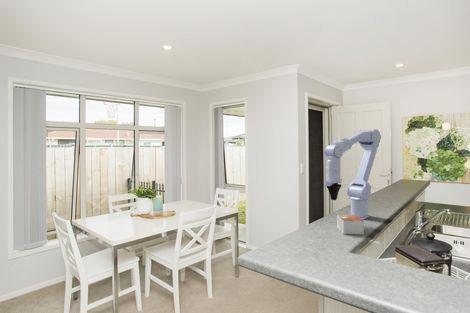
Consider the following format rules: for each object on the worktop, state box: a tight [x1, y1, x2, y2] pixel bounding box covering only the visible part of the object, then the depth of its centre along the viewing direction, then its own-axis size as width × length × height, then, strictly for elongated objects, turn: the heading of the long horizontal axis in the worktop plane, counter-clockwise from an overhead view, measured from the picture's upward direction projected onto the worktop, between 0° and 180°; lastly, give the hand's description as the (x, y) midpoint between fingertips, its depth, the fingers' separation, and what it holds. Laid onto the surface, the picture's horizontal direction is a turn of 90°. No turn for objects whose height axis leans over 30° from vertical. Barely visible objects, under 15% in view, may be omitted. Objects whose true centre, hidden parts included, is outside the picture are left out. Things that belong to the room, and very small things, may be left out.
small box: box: [336, 214, 365, 236], centre depth 120 cm, size 8×6×10 cm
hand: (333, 199), depth 134 cm, fingers closed
